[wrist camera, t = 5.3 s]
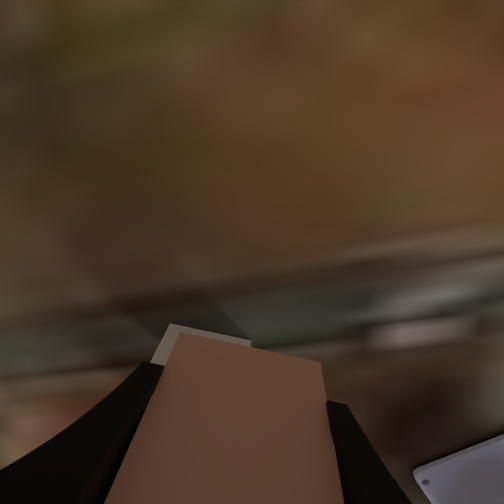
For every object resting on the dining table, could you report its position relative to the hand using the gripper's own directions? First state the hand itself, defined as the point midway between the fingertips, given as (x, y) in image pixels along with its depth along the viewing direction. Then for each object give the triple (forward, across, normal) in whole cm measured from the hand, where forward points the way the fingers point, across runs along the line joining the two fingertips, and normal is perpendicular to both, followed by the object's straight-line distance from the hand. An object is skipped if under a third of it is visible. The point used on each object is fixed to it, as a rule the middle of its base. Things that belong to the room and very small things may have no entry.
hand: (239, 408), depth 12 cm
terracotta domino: (+2, 0, 0) cm, 2 cm away
